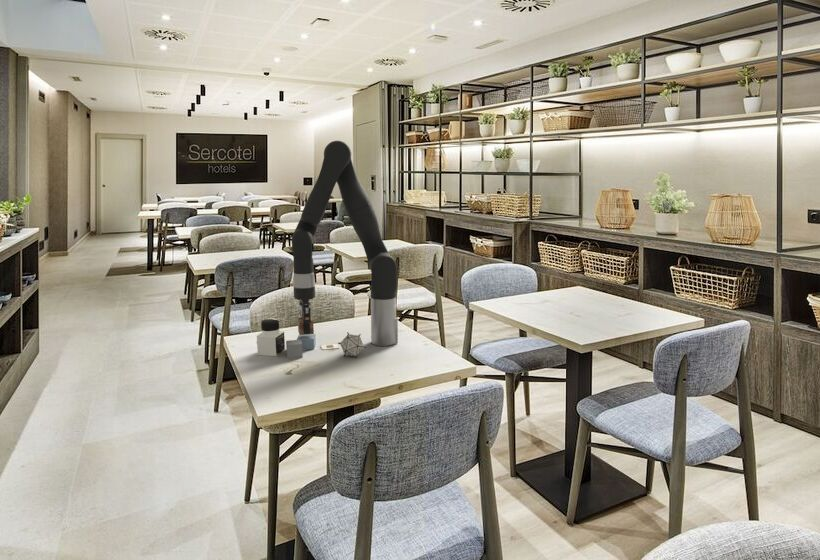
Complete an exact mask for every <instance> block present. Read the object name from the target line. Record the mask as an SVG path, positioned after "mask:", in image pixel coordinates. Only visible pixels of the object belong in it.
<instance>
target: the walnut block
mask: <svg viewBox="0 0 820 560" xmlns="http://www.w3.org/2000/svg"><path fill="white" fill-rule="evenodd" d="M305 320H308V317H306V318H305ZM314 327H315V326H314V318H313V317H312V316H311V323H310V333H309V334H315V332H314V331H315V330H314ZM297 331H298V335H307V334H304V330H303V318H301V317H297Z"/></svg>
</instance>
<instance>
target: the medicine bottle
mask: <svg viewBox="0 0 820 560" xmlns="http://www.w3.org/2000/svg"><path fill="white" fill-rule="evenodd" d="M260 324H261V325H260V327H261V328H260V329H261V333H258V335H257V336H256V341H257V342H256V347H257V356H263V357H278V356H279V355H281V354H282V353H283V352H285V350H286V344H285V343H286V342H285V331H284V330H280V321H279V319H276V318H271V317H270V318H265V319H263V320H262V321H260Z"/></svg>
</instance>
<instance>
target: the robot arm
mask: <svg viewBox="0 0 820 560" xmlns="http://www.w3.org/2000/svg"><path fill="white" fill-rule="evenodd" d="M350 148H351V147H350V146H349V145H348V144H347V143H346V142H345V141H341V140H333V141H330V142H329V143H328V144H327V145H326V146H325V147H324V151H323V161H322V164H321V168H320V171H319V175H318V176H317V179H316V181H315V184H314V186H313V187H312V190H311V192H310V193H309V195H308V197H307V200H306V202H305V204H304V207H303V210H302V213H301V215H300V219H299V221H298V223H297V226H296V227H295V229H294V231H293V234H292V236H291V249H292V257H293V260H292V261H293V263H292V267H293V278H292V284H293V285H292V286H293V287H292V289H293V298H294V299H295V300H297V301H298V300H299V302H298V308H299V315H300V318H303V330H304V334H309V333H310V323H311V317H312V304H311V302H310V300H313V299H315V298H316V283H315V282H316V277H315V273H314V272H315V269H314V268H315V267H314V266H315V265H314V259H313V240H314V237H315V235H316V231H317V229H318V226H319V225H320V223H321V221H322V219H323V217H324V215H325V212H326V209H327V207H328V204H329V201H330V199H331V196H332V193H333V192H334V188H335V187H336V184H337V186H338V188H339V193H340V196H341V200H342V203H343V206H344V209H345V211H346V215H347V217H348V219H349V221H350V224H351V226H352V227H353V230H354V232H355V233H356V234H355V235H356V236H357V237H358V239H359V241H360V242H361V244H362V247H363V250H364V252H365V256H366V259H367V263H368V267H369V270H370V274H371V276H370V277H371V278H370V279H371V285H370V286H371V287H370V330H371V331H370V334H371V335H370V340H371V341H370V342H371V345H375V346H379V347H380V346H381V347H386V346H393V345H395V344H396V345H397V344H399V343H398V342H399V338H398V337H399V330H398V329H399V323H398V318H397V290H398V289H397V288H398V265H397V261H396V260H395V259H394V257H392V255H391V254H390V253H389V251H388V248H387V247H386V245H385V242H384V241H383V238H382V235H381V231H380V227H379V222H378V219H377V215H376V211H375V209H374V208H373V204H372V202H371V200H370V197H369V195H368V194H367V191H366V190H365V188H364V187H363V185H362V183H361V181H360V180H359V177H358V175H357V174H356V171H355V167H354V164H353V161H352V151H351V149H350ZM306 317H308V320H305V318H306Z"/></svg>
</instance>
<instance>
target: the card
mask: <svg viewBox="0 0 820 560" xmlns="http://www.w3.org/2000/svg"><path fill="white" fill-rule="evenodd" d="M320 348H321V350H322V351H324V350H338V349H340V347H339V344H338V343H332V344H323V345H322V344H321V345H320Z"/></svg>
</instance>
